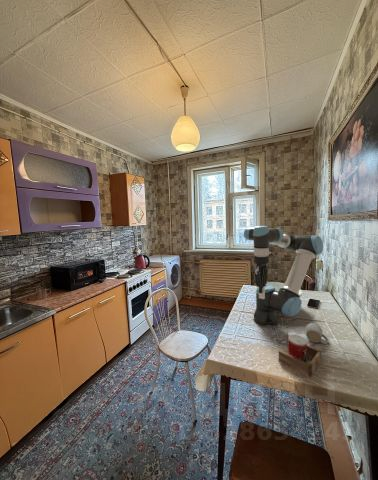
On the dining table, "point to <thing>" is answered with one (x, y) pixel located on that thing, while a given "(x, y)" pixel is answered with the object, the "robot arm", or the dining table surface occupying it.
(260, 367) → the dining table surface
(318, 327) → the ceramic mug
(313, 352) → the frame
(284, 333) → the dining table surface
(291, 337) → the canned food
